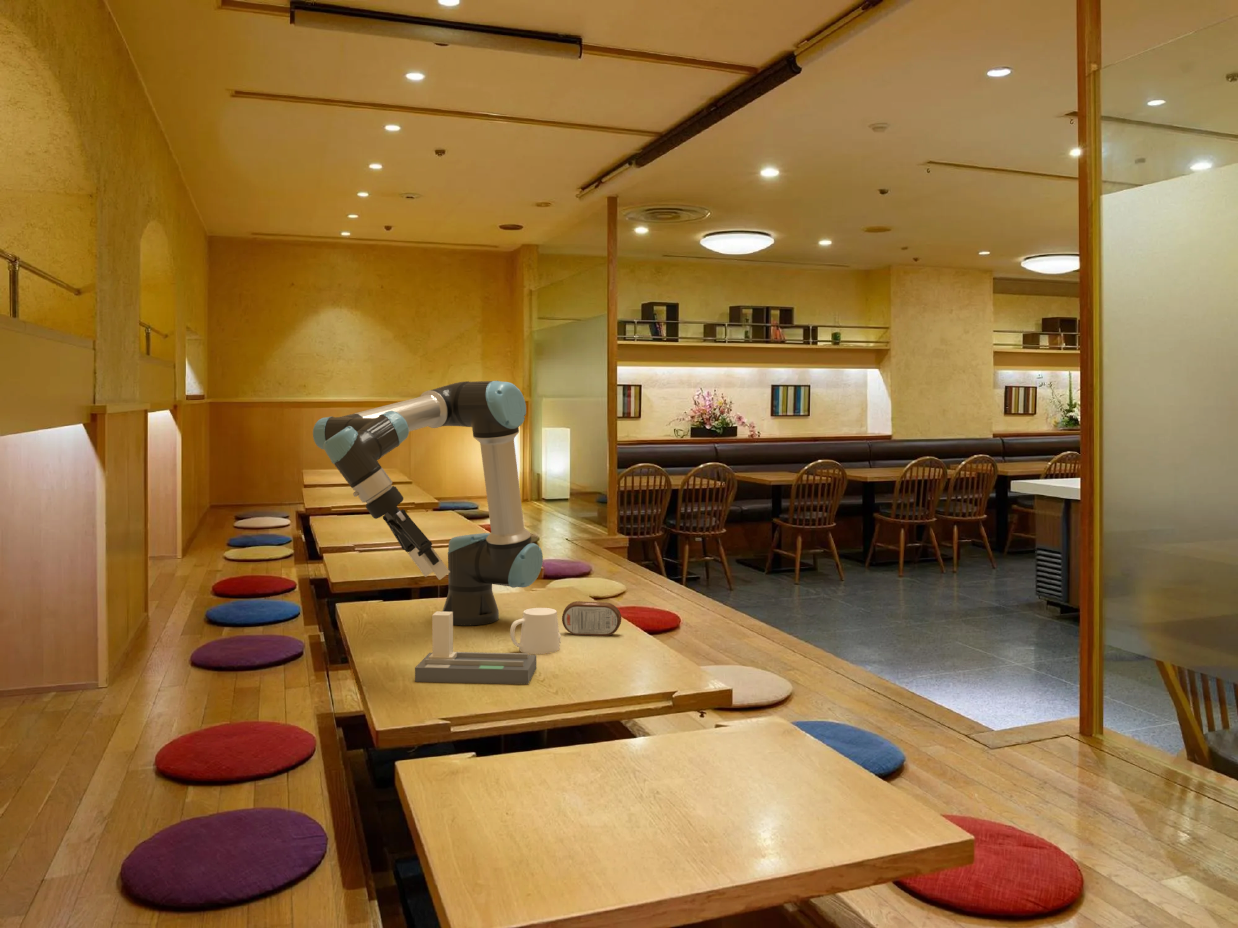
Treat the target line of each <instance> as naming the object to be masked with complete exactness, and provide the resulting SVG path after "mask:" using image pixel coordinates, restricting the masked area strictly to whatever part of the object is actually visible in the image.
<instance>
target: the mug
mask: <svg viewBox="0 0 1238 928" xmlns="http://www.w3.org/2000/svg"><path fill="white" fill-rule="evenodd" d="M520 624H521V630H520V637H519V638H520V639H519V643H518V641H517V639H516V632H515V631H516V627H517V626H518V625H520ZM559 632H560V629H559V620H558V612H557V610H556V609H554V608H549V607H533V608H527V609H525V610H523V613H522V618H519V619H516V620H514V621H513V622H511V626H510V631H509V636H510V639H511V641H512V644H514V645H515V646H516V647H517V648H518V649H519V652H520V653H528V655H545V653H547V654H551V653H550V652H553V653H556V652H558V651H560V646H561V645H560V644H561V638H562V636H561V633H559ZM557 650H558V651H557ZM555 651H556V652H555Z"/></svg>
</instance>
